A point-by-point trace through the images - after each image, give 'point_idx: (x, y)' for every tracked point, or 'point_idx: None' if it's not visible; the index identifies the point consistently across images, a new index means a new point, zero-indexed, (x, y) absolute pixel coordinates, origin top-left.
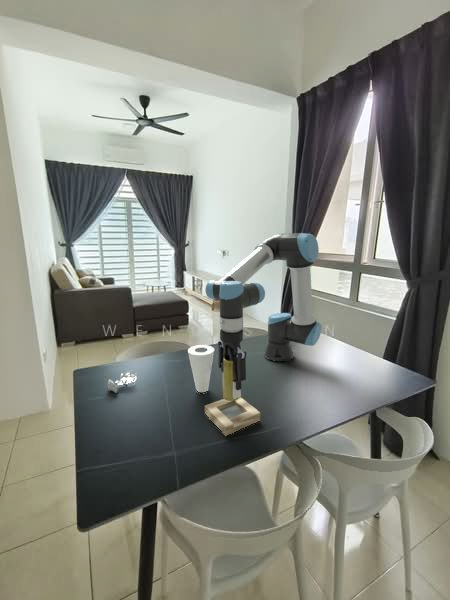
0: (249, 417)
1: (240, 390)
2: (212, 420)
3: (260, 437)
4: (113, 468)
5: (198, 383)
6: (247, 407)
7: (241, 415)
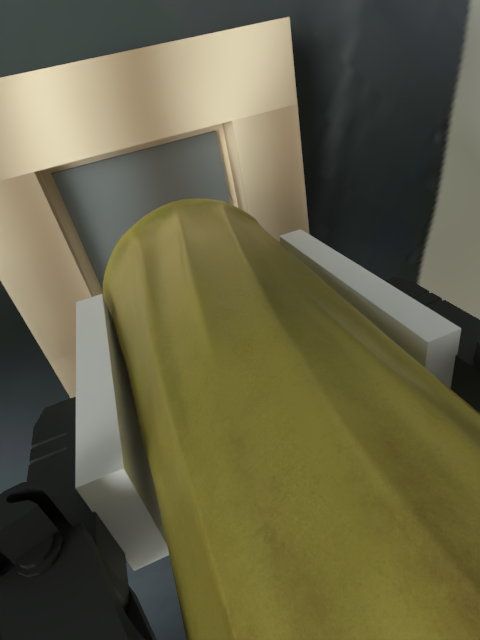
0: (298, 142)
1: (339, 258)
2: None
3: (372, 114)
4: None
5: None
6: (184, 98)
7: (262, 194)
